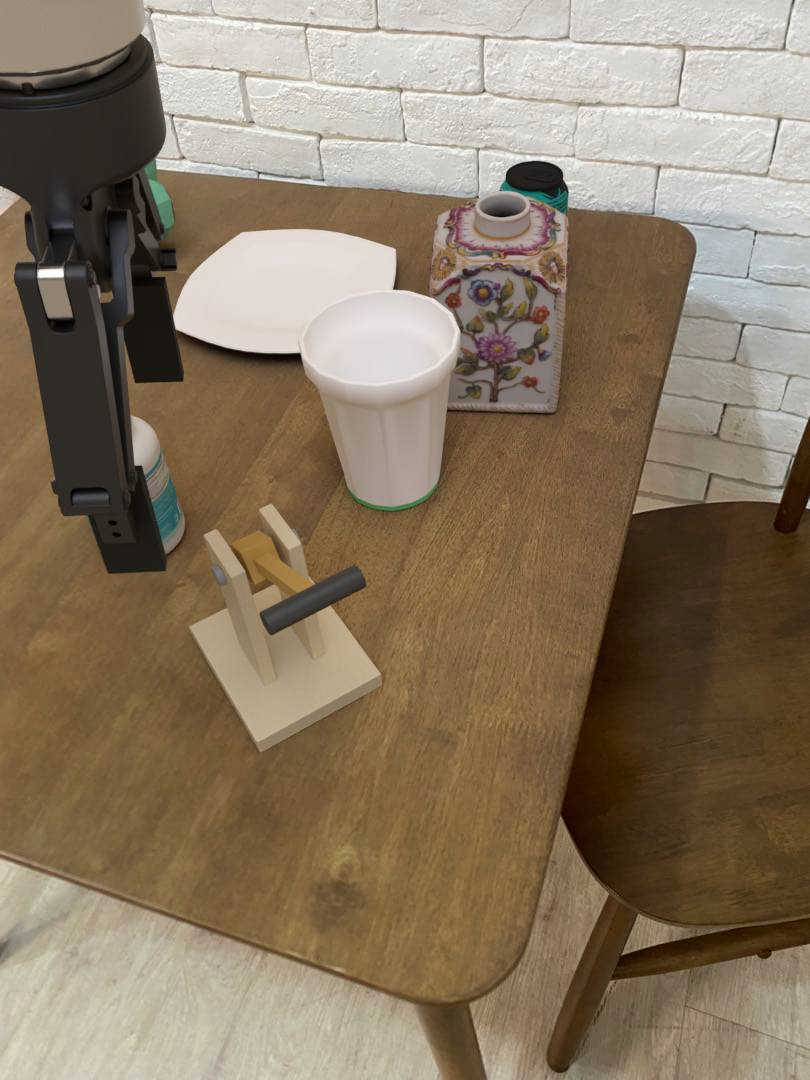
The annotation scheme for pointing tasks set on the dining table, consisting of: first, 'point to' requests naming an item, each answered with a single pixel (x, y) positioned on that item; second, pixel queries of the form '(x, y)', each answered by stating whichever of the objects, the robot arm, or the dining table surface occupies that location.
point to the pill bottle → (157, 483)
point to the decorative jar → (503, 300)
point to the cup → (384, 390)
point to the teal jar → (538, 183)
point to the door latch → (278, 648)
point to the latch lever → (291, 583)
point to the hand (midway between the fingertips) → (149, 464)
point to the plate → (277, 286)
